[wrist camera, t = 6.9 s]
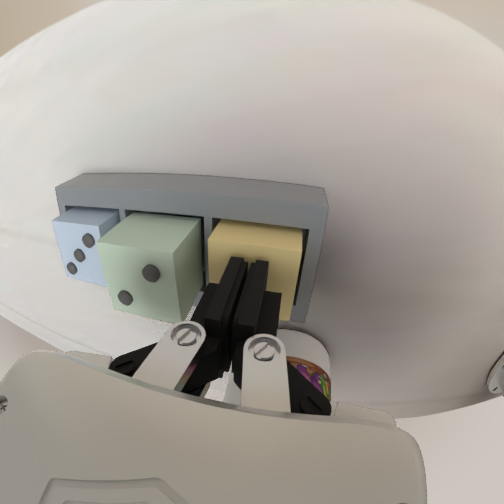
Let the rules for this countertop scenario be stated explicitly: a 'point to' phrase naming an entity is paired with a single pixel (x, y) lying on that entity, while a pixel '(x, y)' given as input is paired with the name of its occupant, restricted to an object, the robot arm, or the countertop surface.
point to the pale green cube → (153, 265)
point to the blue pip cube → (84, 240)
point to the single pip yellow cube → (259, 254)
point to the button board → (212, 210)
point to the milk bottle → (296, 363)
